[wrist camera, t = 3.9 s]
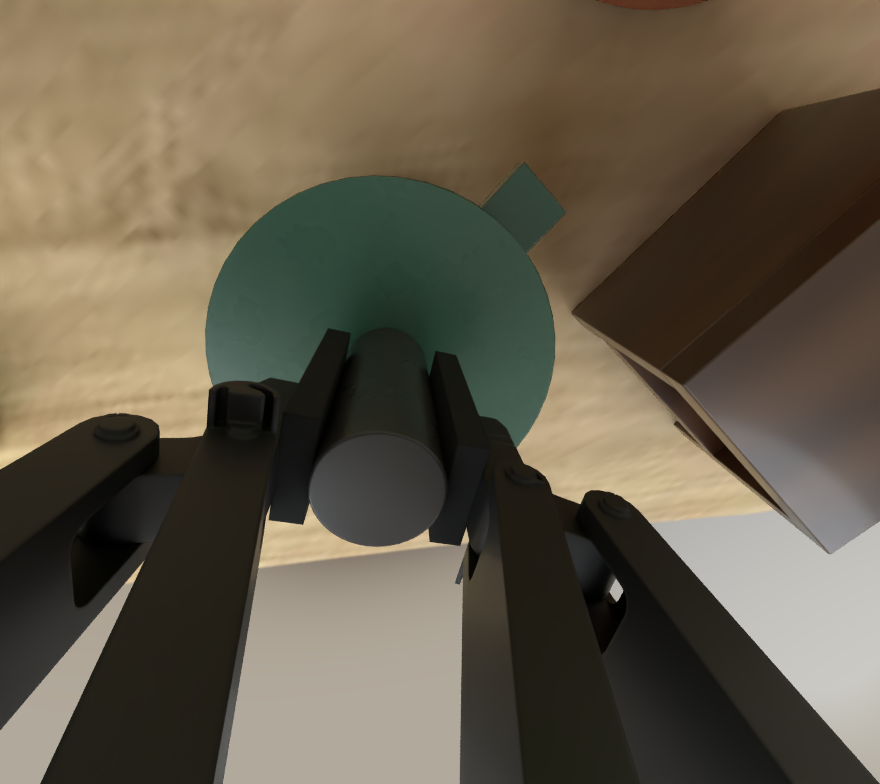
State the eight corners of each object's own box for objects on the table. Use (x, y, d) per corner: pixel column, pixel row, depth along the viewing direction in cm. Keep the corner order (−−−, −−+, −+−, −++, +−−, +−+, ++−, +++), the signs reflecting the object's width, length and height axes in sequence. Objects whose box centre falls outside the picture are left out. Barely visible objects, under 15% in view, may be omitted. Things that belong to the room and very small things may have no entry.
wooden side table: (570, 312, 26) (681, 385, 16) (782, 110, 23) (1094, 37, 12) (683, 434, 30) (830, 555, 20) (877, 277, 26) (1171, 324, 16)
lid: (148, 366, 17) (-86, 524, 9) (368, 84, 14) (328, -80, 6) (399, 537, 22) (400, 751, 13) (608, 346, 19) (782, 466, 10)
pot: (206, 354, 25) (126, 419, 18) (417, 94, 21) (428, 37, 14) (370, 472, 29) (360, 566, 21) (574, 272, 25) (648, 302, 17)
